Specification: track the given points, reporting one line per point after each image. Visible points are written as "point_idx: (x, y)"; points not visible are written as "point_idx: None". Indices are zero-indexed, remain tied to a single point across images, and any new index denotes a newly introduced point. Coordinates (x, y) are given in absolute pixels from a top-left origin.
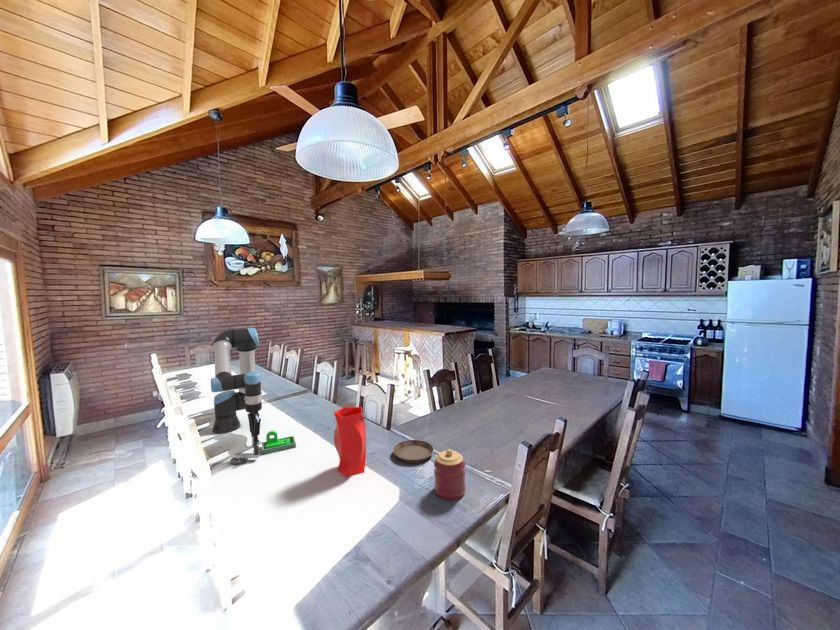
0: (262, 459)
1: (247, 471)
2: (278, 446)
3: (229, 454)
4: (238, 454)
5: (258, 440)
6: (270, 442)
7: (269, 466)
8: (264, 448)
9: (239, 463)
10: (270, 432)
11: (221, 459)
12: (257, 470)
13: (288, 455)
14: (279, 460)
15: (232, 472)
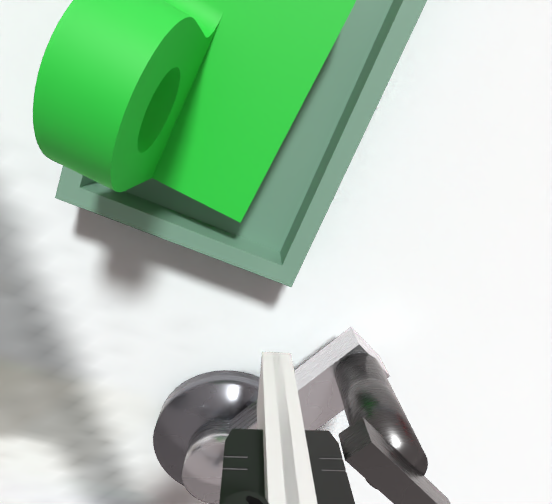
0: (376, 303)
1: (454, 441)
2: (360, 112)
3: (31, 438)
4: (219, 477)
5: (387, 457)
6: (170, 134)
7: (549, 316)
8: (173, 203)
9: None
10: (119, 126)
11: (86, 495)
12: (511, 395)
13: (545, 98)
14: (543, 214)
15: (370, 500)
